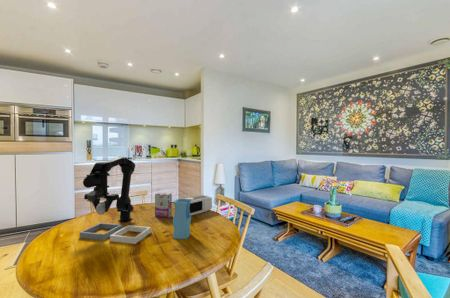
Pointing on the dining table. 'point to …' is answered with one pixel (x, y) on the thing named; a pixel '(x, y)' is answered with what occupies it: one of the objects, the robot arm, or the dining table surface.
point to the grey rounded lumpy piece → (100, 208)
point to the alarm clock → (200, 204)
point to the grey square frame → (96, 236)
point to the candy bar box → (163, 205)
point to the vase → (182, 219)
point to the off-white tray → (133, 240)
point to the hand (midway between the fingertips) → (101, 211)
